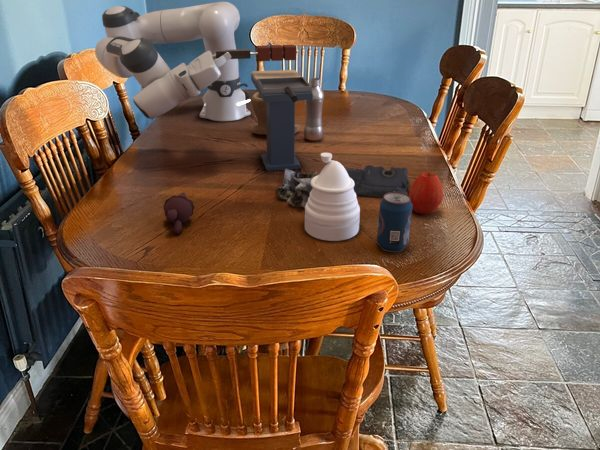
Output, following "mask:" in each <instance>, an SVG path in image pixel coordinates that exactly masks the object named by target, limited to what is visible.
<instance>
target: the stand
mask: <svg viewBox="0 0 600 450" xmlns="http://www.w3.org/2000/svg"><path fill="white" fill-rule="evenodd" d="M250 78H251V79H250V81H251V82H252V84H253V86H254V87H255V89H256V91H257V92H258V93H259V94H260V96H261V98H262V100H263V101H264V102H266V121H267V135H266V154H261V156H260V157H261V160H262V163H263V166H264V168H265V170H266V171H267V172H273V171H285V169H289V170H299V169H301V163H300V162H299V160H298V158H297V156H296V153H295V141H296V140H295V137H296V135H295V134H296V133H295V124H296V122H295V121H296V102H297V101H298V102H300V101H305V100H313V93H312V92H306V93H295V94H296V96H297V97H298V100H297V101H296V102H293V101H292V100H291V98H290V97H289V96H288V94H287V93H284V94H263V93H262V91H261V90H260V88H259V86H258V85H257V83H256V81H255V80H254V78H253V76H252V73H250Z"/></svg>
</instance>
